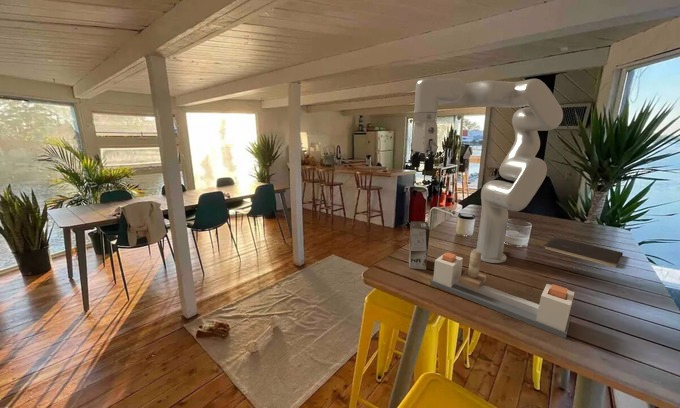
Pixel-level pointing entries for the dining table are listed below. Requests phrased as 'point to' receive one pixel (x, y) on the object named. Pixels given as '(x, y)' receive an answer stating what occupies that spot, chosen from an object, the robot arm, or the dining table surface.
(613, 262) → the hardcover book
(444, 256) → the block
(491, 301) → the rail base
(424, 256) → the coffee box
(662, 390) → the dining table surface
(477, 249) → the robot arm
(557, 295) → the block
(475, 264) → the carriage
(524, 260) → the dining table surface
